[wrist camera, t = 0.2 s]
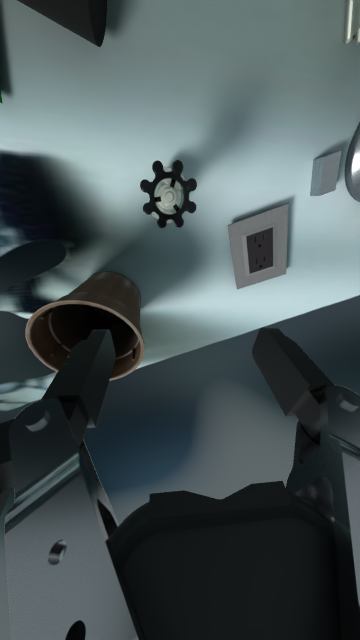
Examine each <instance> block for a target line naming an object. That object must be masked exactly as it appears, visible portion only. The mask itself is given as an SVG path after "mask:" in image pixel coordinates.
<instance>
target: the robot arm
mask: <svg viewBox="0 0 360 640" xmlns="http://www.w3.org/2000/svg"><path fill="white" fill-rule="evenodd" d="M252 355H253V358H254V360H255V362H256V364H257V365H258V367H259V369H260V371H261V373H262V374H263V376H264V378H265V380H266V382H267V384H268V385H269V387H270V389H271V391H272V392H273V394H274V396H275V398H276V400H277V401H278V403H279V405H280V407H281V409H282V410H283V412H284V414H285V416H297V418H298V419H299V421H298V422H297V424H296V435H295V447H294V448H295V449H294V459H293V466H292V470H291V472H290V474H289V476H288V479H287V483H286V488H285V486H284V484H283V481H277V482H267V483H257V484H251V485H249V486H247V487H245V488H243V489H241V490H239V491H237V492H235V493H234V494H232V495H230V496H228V497H226V498H225V499H220V500H219V499H214V498H210V497H207V496H203V495H199V494H195V493H191V492H188V491H174V492H164V493H154V494H150V500H149V502H148V503H146V504H144V505H142V506H141V507H139V508H138V509H136V510H135V511H134V512H132V513H131V514H130V515H129V516H128V517H127V518H126V519H125V520H124V521H123V522H122V523H121V524H120V525H119V524H118V522H117V519H116V517H115V514H114V512H113V509H112V507H111V504H110V502H109V500H108V497H107V495H106V493H105V491H104V489H103V487H102V485H101V483H100V480H99V478H98V475H97V473H96V470H95V468H94V465H93V463H92V460H91V458H90V455H89V452H88V450H87V447H86V445H85V442H84V440H83V437H84V434H85V431H86V428H91V427H96V425H97V421H98V418H99V414H100V411H101V408H102V404H103V400H104V397H105V394H106V390H107V387H108V384H109V380H110V377H111V373H112V370H113V366H114V363H115V349H114V345H113V340H112V336H111V332H110V330H109V329H102V330H92V331H91V333H90V335H89V337H88V339H87V340H81V341H80V342H79V343H77V344H76V345H75V346H74V347H73V348H72V349H71V351H70V353H69V354H68V356H67V358H66V359H65V361H64V363H63V366H61V368H60V369H59V371H58V373H57V374H56V376H55V378H54V379H53V381H52V383H51V384H50V386H49V388H48V389H47V391H46V393H45V394H44V396H43V397H42V399H41V400H39V401H36V402H34V403H32V404H31V405H29V406H27V407H26V408H25V409H23V411H21V412H20V413H19V414H18V415H17V416H16V418H15V419H13V420H10V421H7V422H3V423H0V515H1V513H2V511H3V509H4V506H5V504H6V502H7V500H8V498H9V495H10V494H11V491H12V489H13V487H14V490H15V503H14V506H13V507H12V508H11V509H10V510H9V511H8V513H7V515H6V519H5V528H4V534H5V551H6V568H7V586H8V603H9V619H10V637H11V640H360V395H358V394H357V393H355V392H354V391H352V390H350V389H348V388H346V387H343V386H339V385H334V384H333V383H332V382H331V381H330V380H329V379H328V377H327V376H326V375H325V374H324V373H323V372H322V371H321V370H320V369H319V368H318V366H317V365H316V364H315V363H314V362H313V361H312V360H311V359H309V357H308V355H307V354H306V353H305V352H303V350H302V349H301V348H300V347H299V346H298V345H297V343H295V342H294V341H292V340H291V339H289V338H288V337H285V335H284V334H283V333H282V332H281V331H280V330H279V329H278V328H276V327H272V328H271V327H270V328H261V329H260V330H259V333H258V336H257V338H256V341H255V343H254V346H253V349H252Z"/></svg>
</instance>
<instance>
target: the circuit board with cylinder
mask: <svg viewBox="0 0 360 640" xmlns="http://www.w3.org/2000/svg"><path fill="white" fill-rule="evenodd" d="M18 1H20V2H21V3H23V4H25V5H27V6H28V7H30V8H32V9H34V10H35V11H37V12H39V13H41V14H42V15H44V16H46V17H48V18H49V19H51V20H53V21H55V22H56V23H58V24H60V25H62V26H63V27H65V28H67V29H69V30H70V31H72V32H74V33H76V34H77V35H79V36H81V37H83V38H84V39H86V40H88V41H90V42H91V43H93V44H95V45H97V46H98V47H100V46H101V45H102V43H103V39H104V35H105V27H106V12H107V0H18ZM0 102H1V103H2V97H1V90H0Z"/></svg>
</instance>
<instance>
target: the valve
mask: <svg viewBox="0 0 360 640" xmlns="http://www.w3.org/2000/svg"><path fill="white" fill-rule="evenodd" d="M152 169H153V172H154V173H155V179H154V180H153V182H149V181H148V180H142V181H141V183H140V187H141V190H142V191H143V192H145V193H148V194H149V196H150V201H149V203H146V204H144V206H143V211H144V212H145V213H146V214H148V215H149V214H151V213H152V217H154V218H156V219H158V221H157V224H158V226H159V227H160V228H164V227H166V224H167V223H168V224H171V222H172V220H174V223H175V225H176V227H178V228H180V227H182V226H183V224H184V220H183V219H182V214H183V213H184V211H188V212H189V213H193V212H195V210H196V204H195V203H194V202H191V201H189V192H191V191H194V190H195V189H196V187H197V182H196V180H195V179H193V178H191V179H189V180H188V181H184V180H185V177H184V176H183V175H182V174H181V173H182V171H183V164H182V162H181V161H179V160H176V161H175V162H174V163H173V166H172V169H170V168H168V167H164V168H163V165H162V163H161V162H160V161H155V162H154V163H153V166H152ZM180 190H183V194H184V199H183V204H182V206H181V208H179V207H178V206H179V204H180V201H181V192H180ZM175 211H176V213H174V212H175Z"/></svg>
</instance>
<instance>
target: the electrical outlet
mask: <svg viewBox="0 0 360 640" xmlns="http://www.w3.org/2000/svg"><path fill="white" fill-rule="evenodd" d="M288 210H289V203H287V204H285V205H282V206H279V207H276V208H274V209H271V210H268V211H266V212H263V213H260V214H257V215H255V216H252V217H249V218H246V219H244V220H241V221H238V222H235V223H233V224H230V225H228V230H229V237H230V244H231V251H232V258H233V265H234V272H235V279H236V286H237V289H240V288H243V287H246V286H249V285H252V284H256V283H259V282H262V281H265V280H268V279H271V278H274V277H277V276H281V275H284V274H286V262H287V236H288Z"/></svg>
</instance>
